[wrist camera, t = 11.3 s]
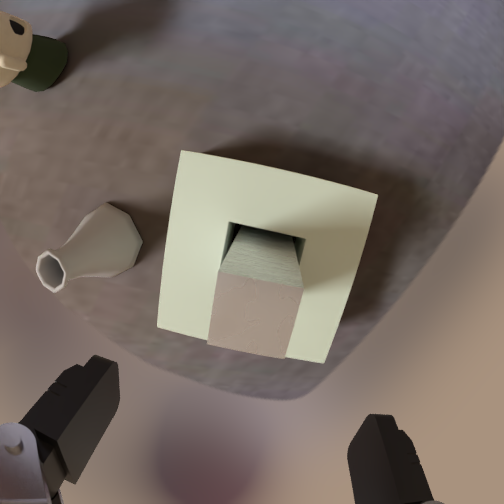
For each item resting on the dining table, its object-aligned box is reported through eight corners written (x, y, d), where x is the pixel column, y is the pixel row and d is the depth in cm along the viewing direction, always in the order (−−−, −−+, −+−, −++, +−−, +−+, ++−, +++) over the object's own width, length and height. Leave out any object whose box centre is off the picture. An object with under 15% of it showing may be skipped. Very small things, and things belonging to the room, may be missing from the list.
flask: (156, 241, 29) (105, 276, 19) (115, 287, 31) (63, 333, 21) (107, 188, 28) (42, 202, 18) (71, 239, 30) (9, 267, 20)
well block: (200, 153, 26) (181, 150, 21) (356, 188, 26) (378, 194, 21) (177, 297, 30) (157, 326, 25) (316, 328, 30) (323, 363, 24)
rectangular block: (245, 219, 28) (218, 271, 14) (289, 227, 28) (304, 288, 14) (237, 261, 29) (206, 343, 15) (280, 270, 29) (284, 359, 15)
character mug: (95, 54, 24) (13, 15, 12) (60, 112, 26) (-31, 101, 13) (42, 27, 23) (-30, -1, 10) (13, 78, 25) (-65, 66, 12)
